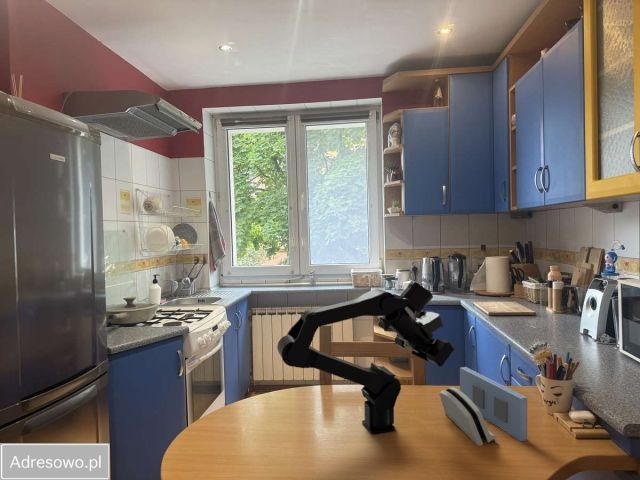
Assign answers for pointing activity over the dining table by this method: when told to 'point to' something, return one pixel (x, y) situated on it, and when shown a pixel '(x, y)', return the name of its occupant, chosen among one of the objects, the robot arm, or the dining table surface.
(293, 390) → the dining table surface
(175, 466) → the dining table surface
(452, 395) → the white black-striped curved device
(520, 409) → the cabinet side panel
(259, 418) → the dining table surface
